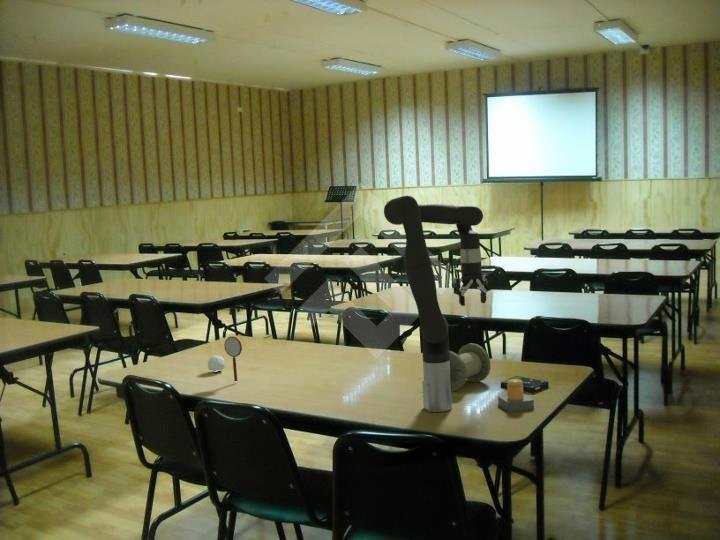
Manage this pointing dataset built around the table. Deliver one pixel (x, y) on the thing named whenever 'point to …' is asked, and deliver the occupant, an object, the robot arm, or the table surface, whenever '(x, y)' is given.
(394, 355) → the table surface
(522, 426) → the table surface
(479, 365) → the spool
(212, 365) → the ball
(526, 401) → the grey piece
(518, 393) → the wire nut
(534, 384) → the disk drive
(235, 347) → the magnifying glass
